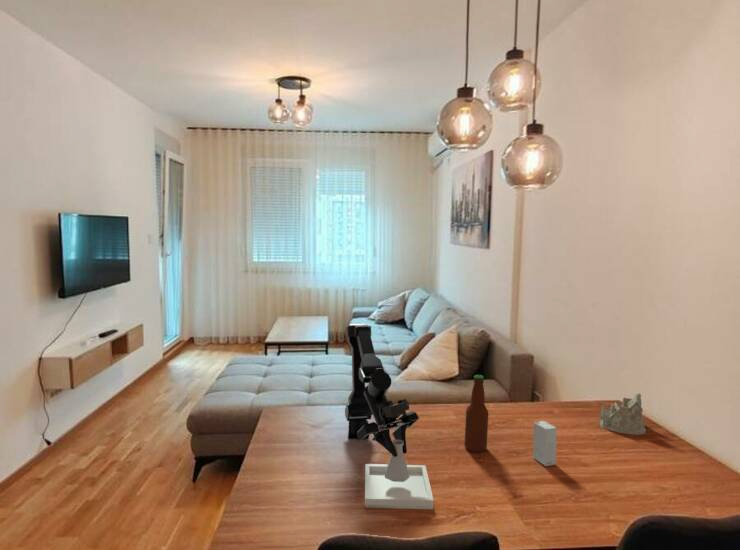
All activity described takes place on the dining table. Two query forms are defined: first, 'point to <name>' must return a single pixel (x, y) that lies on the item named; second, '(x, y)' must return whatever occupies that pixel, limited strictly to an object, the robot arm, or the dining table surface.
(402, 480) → the flask
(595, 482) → the dining table surface
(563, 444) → the dining table surface
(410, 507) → the tray
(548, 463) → the skincare box
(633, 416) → the grey rock
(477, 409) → the bottle
